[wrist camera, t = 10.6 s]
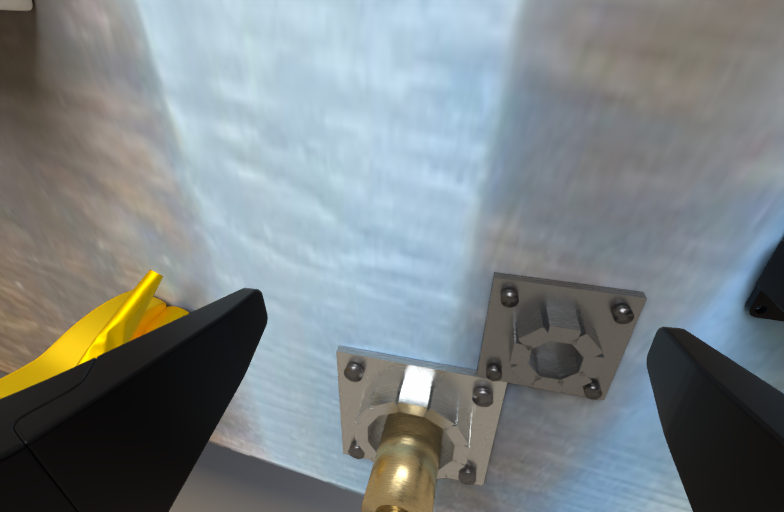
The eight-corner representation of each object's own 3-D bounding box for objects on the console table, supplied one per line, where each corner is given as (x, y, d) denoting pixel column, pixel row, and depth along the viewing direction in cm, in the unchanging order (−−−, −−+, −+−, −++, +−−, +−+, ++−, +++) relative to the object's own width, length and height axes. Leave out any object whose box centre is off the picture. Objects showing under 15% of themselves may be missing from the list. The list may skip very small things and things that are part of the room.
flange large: (506, 375, 27) (507, 404, 25) (483, 478, 33) (482, 508, 31) (339, 345, 29) (327, 369, 27) (345, 447, 35) (336, 473, 33)
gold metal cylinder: (427, 397, 29) (400, 540, 21) (453, 436, 30) (438, 584, 22) (377, 408, 31) (334, 543, 22) (404, 445, 32) (373, 583, 24)
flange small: (643, 292, 22) (657, 316, 20) (601, 393, 26) (609, 421, 24) (494, 272, 23) (494, 293, 21) (477, 370, 27) (475, 395, 25)
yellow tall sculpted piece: (203, 405, 37) (-95, 786, 18) (127, 372, 37) (-245, 716, 18) (218, 256, 27) (-366, 732, 9) (116, 213, 28) (-666, 590, 9)
